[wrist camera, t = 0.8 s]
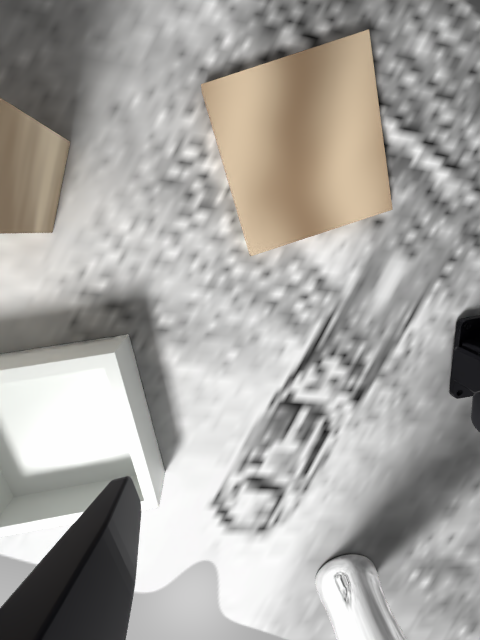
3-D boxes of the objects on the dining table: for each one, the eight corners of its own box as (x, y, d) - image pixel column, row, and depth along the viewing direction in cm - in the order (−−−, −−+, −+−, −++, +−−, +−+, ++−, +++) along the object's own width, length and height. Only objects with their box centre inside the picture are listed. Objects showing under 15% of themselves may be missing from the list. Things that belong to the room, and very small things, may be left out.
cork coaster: (361, 39, 16) (368, 29, 15) (385, 210, 18) (392, 209, 18) (201, 91, 16) (201, 84, 15) (249, 254, 18) (251, 255, 18)
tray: (128, 334, 19) (114, 352, 16) (165, 472, 23) (158, 507, 20) (-56, 362, 18) (-104, 386, 16) (11, 500, 22) (-18, 540, 19)
